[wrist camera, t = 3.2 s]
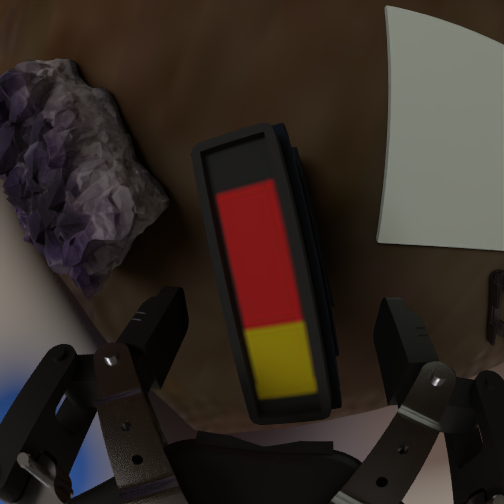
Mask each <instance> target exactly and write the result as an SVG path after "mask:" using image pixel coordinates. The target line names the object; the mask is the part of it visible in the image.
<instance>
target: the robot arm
mask: <svg viewBox="0 0 504 504" xmlns="http://www.w3.org/2000/svg"><path fill="white" fill-rule="evenodd" d="M188 323H189V318H188V312H187V307H186V301H185V295H184V291H183V288H181V287H170V286H164V287H163V288H162V289H161V291H160V292H159V294H158V295H157V296H156V297H151V298H149V299H148V300H147V301H145V302H144V303H142V305H141V306H140V308H139V309H138V311H137V313H135V315H134V316H133V318H132V320H131V321H130V322H129V324H128V325H127V327H126V328H125V329H124V331H123V332H122V334H121V335H120V337H119V338H118V340H117V341H116V342H111V343H107V344H105V345H103V346H101V347H100V348H99V349H98V350H97V351H96V352H95V354H89V355H88V354H87V355H77V353H76V352H75V350H74V348H73V347H72V346H71V345H68V344H60V345H57V346H55V347H53V348H52V349H50V350H49V351H48V352H47V353H46V355H45V356H44V358H43V359H42V360H41V362H40V363H39V365H38V366H37V367H36V369H35V370H34V372H33V373H32V375H31V377H30V378H29V379H28V381H27V382H26V384H25V385H24V387H23V388H22V390H21V391H20V393H19V394H18V396H17V397H16V399H15V401H14V402H13V404H12V405H11V407H10V409H9V410H8V412H7V414H6V415H5V417H4V419H3V421H2V422H1V424H0V499H1V500H2V501H3V502H5V503H7V504H404V503H403V502H402V499H403V498H404V496H405V495H406V493H407V492H408V490H409V488H410V487H411V485H412V483H413V482H414V480H415V478H416V477H417V475H418V473H419V471H420V470H421V468H422V466H423V464H424V462H425V460H426V459H427V457H428V455H429V453H430V451H431V449H432V447H433V445H434V443H435V441H436V439H437V437H438V434H439V432H444V436H445V441H446V447H447V453H448V458H449V465H450V473H451V480H452V490H453V500H454V504H504V380H503V379H502V378H501V376H500V375H499V374H497V373H496V372H493V371H489V370H485V371H482V372H480V373H479V374H478V375H477V377H476V378H475V380H472V379H465V378H459V377H456V375H455V372H454V371H453V369H452V368H451V367H450V366H448V365H447V364H445V363H442V362H440V361H439V359H438V356H437V354H436V352H435V349H434V347H433V344H432V342H431V340H430V338H429V336H428V333H427V331H426V329H425V326H424V324H423V322H422V320H421V318H420V317H419V316H418V315H417V314H416V313H415V312H414V311H413V310H407V308H406V306H405V304H404V301H403V299H402V298H383V299H382V302H381V305H380V309H379V313H378V317H377V320H376V324H375V327H374V344H375V348H376V352H377V357H378V361H379V365H380V370H381V374H382V379H383V383H384V388H385V393H386V398H387V403H388V406H389V405H398V409H399V410H398V412H397V413H396V415H395V417H394V418H393V420H392V421H391V423H390V425H389V426H388V428H387V429H386V430H385V432H384V434H383V435H382V436H381V438H380V440H379V441H378V442H377V444H376V445H375V447H374V448H373V449H372V451H371V452H370V453H369V455H368V456H367V458H366V459H365V460H364V461H363V463H362V462H360V461H359V460H358V459H356V458H354V457H352V456H350V455H348V454H346V453H343V452H340V451H336V450H333V441H328V442H324V441H323V442H321V441H318V442H317V441H298V442H292V443H287V444H280V445H274V446H266V447H265V446H259V445H256V444H253V443H250V442H247V441H244V440H241V439H238V438H235V437H233V436H230V435H223V434H216V433H210V432H204V431H198V432H197V436H196V439H188V440H182V441H178V442H175V443H172V444H168V442H167V440H166V438H165V436H164V433H163V431H162V429H161V426H160V424H159V422H158V419H157V417H156V414H155V412H154V409H153V407H152V404H151V401H150V399H149V396H148V392H149V390H150V388H155V389H160V390H161V388H162V386H163V383H164V381H165V379H166V376H167V374H168V372H169V370H170V368H171V365H172V363H173V361H174V359H175V356H176V354H177V352H178V350H179V348H180V345H181V343H182V341H183V339H184V337H185V334H186V332H187V329H188ZM64 394H65V395H66V398H65V400H64V401H63V403H62V405H61V407H60V409H59V411H58V413H57V414H56V416H55V411H56V407H57V405H58V404H59V402H60V400H61V398H62V397H63V395H64ZM97 411H98V416H99V421H100V425H101V429H102V434H103V438H104V441H105V445H106V449H107V453H108V456H109V460H110V463H111V466H112V469H113V473H114V477H112V478H110V479H109V480H107V481H105V482H103V483H102V484H99V485H97V486H95V487H94V488H92V489H90V490H88V491H86V492H84V493H82V494H80V495H78V496H75V497H73V498H71V497H72V496H73V490H72V482H71V479H70V477H69V473H70V471H71V468H72V466H73V463H74V461H75V459H76V457H77V454H78V452H79V450H80V447H81V445H82V443H83V441H84V438H85V436H86V434H87V432H88V430H89V427H90V425H91V423H92V420H93V419H94V417H95V414H96V412H97ZM478 426H479V427H478ZM479 429H480V431H479ZM480 432H481V435H480ZM481 436H482V439H481ZM482 441H483V443H482Z"/></svg>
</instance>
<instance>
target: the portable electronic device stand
mask: <svg viewBox="0 0 504 504" xmlns="http://www.w3.org/2000/svg"><path fill="white" fill-rule="evenodd" d="M502 289H503V290H504V271H503V270H494V271H493V272H491V274H490V295H489V314H488V326H487V336H486V338H487V340H488V341H489V343H490V344H491V345H492V346H493V345H494V344H495V338H496V335H497V334H498V335H500V336H503V337H504V322H503V321H501V320H500V313H501V302H502Z"/></svg>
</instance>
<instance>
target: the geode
mask: <svg viewBox="0 0 504 504" xmlns="http://www.w3.org/2000/svg"><path fill="white" fill-rule="evenodd" d="M0 178H1V179H4V180H6V181H5V183H4V185H3V187H4V189H5V190H4V193H5V194H7V195H9V197H8V198H7V200H8V201H9V202H10V203H11V204H12V205H13V207H14V209H15V213H16V215H17V216H18V217H19V221H20V225H21V226H22V228H23V229H24V230H25V232H26V234H25V237H24V241H26V242H28V243H31V244H32V245H33V246H35V247H36V249H37V251H38V252H40V253H42V254H44V255H45V257H46V260H47V263H48V265H49V267H50V268H51V269H52V270H53V271H54V272H56V273H58V274H63V273H68V274H69V275H70V277H71V278H72V280H73V282H74V283H75V285H76V286H77V287H79V288H80V289H81V291H82V293H83V294H84V296H85V297H86V298H87V299H90V298H92V297H93V296H95V295H96V294H97V293H98V292H100V291H101V290H102V288H103V284H104V283H105V281H106V280H107V279H108V278H109V275H110V273H111V271H112V270H113V269H114V268H115V267H116V266H119V265H121V263H122V261H123V259H124V258H125V256H126V255H127V253H128V252H129V250H130V249H131V247H132V246H133V241H134V240H135V238H136V237H137V235H139V234H141V233H143V232H144V229H145V228H146V227H147V226H148V225H150V224H152V223H154V222H155V221H156V220H157V218H158V217H159V216H160V215H161V214H162V212H163V211H164V210H165V209H167V208H168V207H169V205H170V200H169V198H168V197H167V195H166V193H165V191H164V189H163V187H162V186H161V184H160V183H159V182H158V181H157V180H156V179H155V178H154V177H153V176H152V175H150V173H149V172H148V171H147V170H146V168H145V167H144V166H143V165H142V163H141V162H140V161H139V160H138V159H137V157H136V154H135V150H134V146H133V142H132V138H131V136H130V135H129V134H128V133H127V131H126V128H125V126H124V123H123V121H122V119H121V117H120V114H119V110H118V106H117V104H116V102H115V100H114V98H113V96H112V95H111V94H110V93H109V92H108V91H107V90H106V89H105V88H103V87H98V88H91V87H89V86H88V85H87V84H86V83H85V81H84V80H83V79H82V78H81V77H80V76H79V73H78V69H77V65H76V63H75V61H73V60H70V59H64V60H62V59H55V60H51V61H40V60H32V61H31V60H27V61H25V62H22V63H20V64H18V65H16V67H15V68H14V69H9V70H8V71H6V72H5V73H3V74H2V75H1V76H0Z"/></svg>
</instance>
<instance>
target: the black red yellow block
mask: <svg viewBox="0 0 504 504" xmlns="http://www.w3.org/2000/svg"><path fill="white" fill-rule="evenodd" d="M191 156H192V162H193V167H194V173H195V179H196V184H197V189H198V195H199V200H200V205H201V210H202V216H203V221H204V226H205V231H206V236H207V241H208V245H209V250H210V255H211V260H212V264H213V269H214V274H215V278H216V283H217V287H218V292H219V296H220V301H221V305H222V309H223V314H224V318H225V322H226V327H227V331H228V335H229V339H230V343H231V347H232V351H233V355H234V360H235V364H236V367H237V371H238V375H239V379H240V383H241V387H242V391H243V395H244V398H245V402H246V406H247V410H248V413H249V417H250V419H251V420H252V422H253V423H255V424H259V425H268V424H284V423H296V422H306V421H315V420H323V419H325V418H327V417H329V416H330V413H331V409H336V408H341V406H342V400H341V391H340V383H339V376H338V369H337V362H336V356H338V355H339V349H338V342H337V336H336V330H335V324H334V318H333V312H332V307H333V306H334V305H333V298H332V293H331V288H330V283H329V278H328V273H327V268H326V263H325V259H324V254H323V250H322V245H321V241H320V236H319V232H318V228H317V223H316V219H315V215H314V211H313V207H312V203H311V199H310V195H309V191H308V187H307V183H306V180H305V176H304V172H303V168H302V165H301V161H300V157H299V154H298V150H297V147H291V144H290V140H289V137H288V133H287V130H286V127H285V125H284V123H280V124H276V125H272V126H270V124H267V123H260V124H257V125H253V126H250V127H246V128H243V129H240V130H237V131H234V132H230V133H227V134H224V135H221V136H218V137H215V138H212V139H209V140H206V141H204V142H201V143H198V144H197V145H196V146H194V147H193V149H192V154H191Z"/></svg>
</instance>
